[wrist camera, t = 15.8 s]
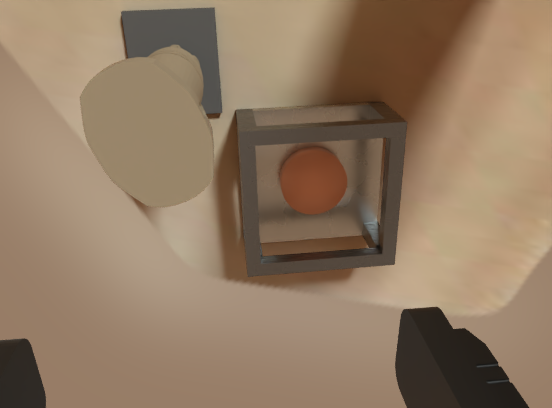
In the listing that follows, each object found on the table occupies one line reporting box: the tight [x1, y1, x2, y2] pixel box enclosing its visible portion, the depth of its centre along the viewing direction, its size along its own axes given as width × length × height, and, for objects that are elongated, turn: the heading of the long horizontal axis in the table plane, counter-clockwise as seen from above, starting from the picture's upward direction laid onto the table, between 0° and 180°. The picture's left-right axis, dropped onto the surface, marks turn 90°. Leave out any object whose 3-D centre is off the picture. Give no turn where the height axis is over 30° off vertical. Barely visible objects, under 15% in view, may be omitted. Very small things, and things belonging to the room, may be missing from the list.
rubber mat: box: [121, 8, 222, 114], centre depth 35 cm, size 7×6×1 cm
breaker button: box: [280, 147, 347, 214], centre depth 38 cm, size 5×5×1 cm
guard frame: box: [236, 102, 407, 277], centre depth 37 cm, size 11×11×5 cm
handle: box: [80, 45, 214, 207], centre depth 28 cm, size 5×6×15 cm
